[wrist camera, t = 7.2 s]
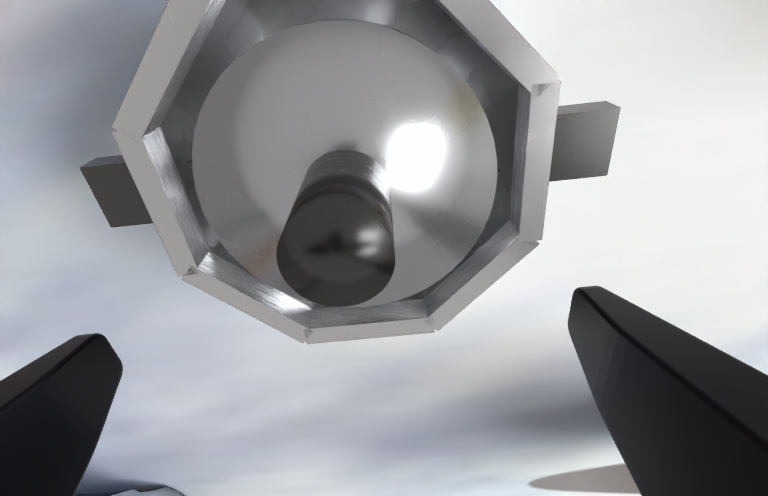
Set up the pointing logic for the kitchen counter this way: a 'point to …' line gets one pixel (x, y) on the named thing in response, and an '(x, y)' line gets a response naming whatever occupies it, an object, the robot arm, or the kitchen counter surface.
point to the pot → (387, 7)
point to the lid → (344, 163)
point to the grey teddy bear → (151, 492)
